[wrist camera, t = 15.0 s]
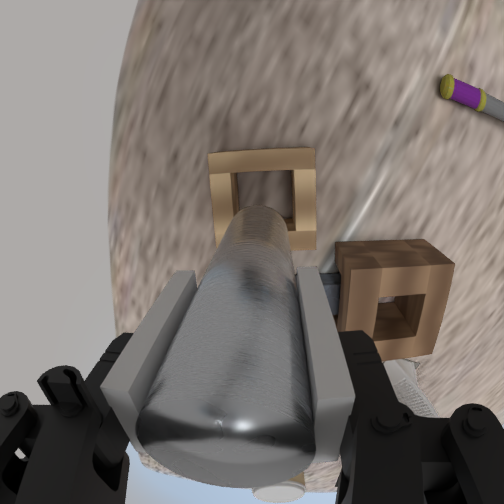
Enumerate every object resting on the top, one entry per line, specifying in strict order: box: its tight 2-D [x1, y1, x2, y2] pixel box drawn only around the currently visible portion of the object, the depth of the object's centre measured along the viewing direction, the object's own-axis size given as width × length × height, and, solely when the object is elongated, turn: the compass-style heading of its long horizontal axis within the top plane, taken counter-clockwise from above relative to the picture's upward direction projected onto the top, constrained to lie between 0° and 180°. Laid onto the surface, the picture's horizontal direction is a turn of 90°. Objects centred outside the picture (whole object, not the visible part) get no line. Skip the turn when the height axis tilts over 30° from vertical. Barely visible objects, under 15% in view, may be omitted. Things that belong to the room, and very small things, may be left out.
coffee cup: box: [252, 472, 306, 503], centre depth 44 cm, size 9×9×12 cm
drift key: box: [295, 273, 341, 315], centre depth 35 cm, size 12×5×4 cm, turn 94°
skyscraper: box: [383, 359, 440, 418], centre depth 29 cm, size 8×8×28 cm
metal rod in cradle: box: [135, 205, 316, 488], centre depth 13 cm, size 4×4×16 cm
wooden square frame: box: [208, 147, 316, 251], centre depth 31 cm, size 10×10×5 cm
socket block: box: [332, 239, 455, 361], centre depth 33 cm, size 12×12×8 cm
